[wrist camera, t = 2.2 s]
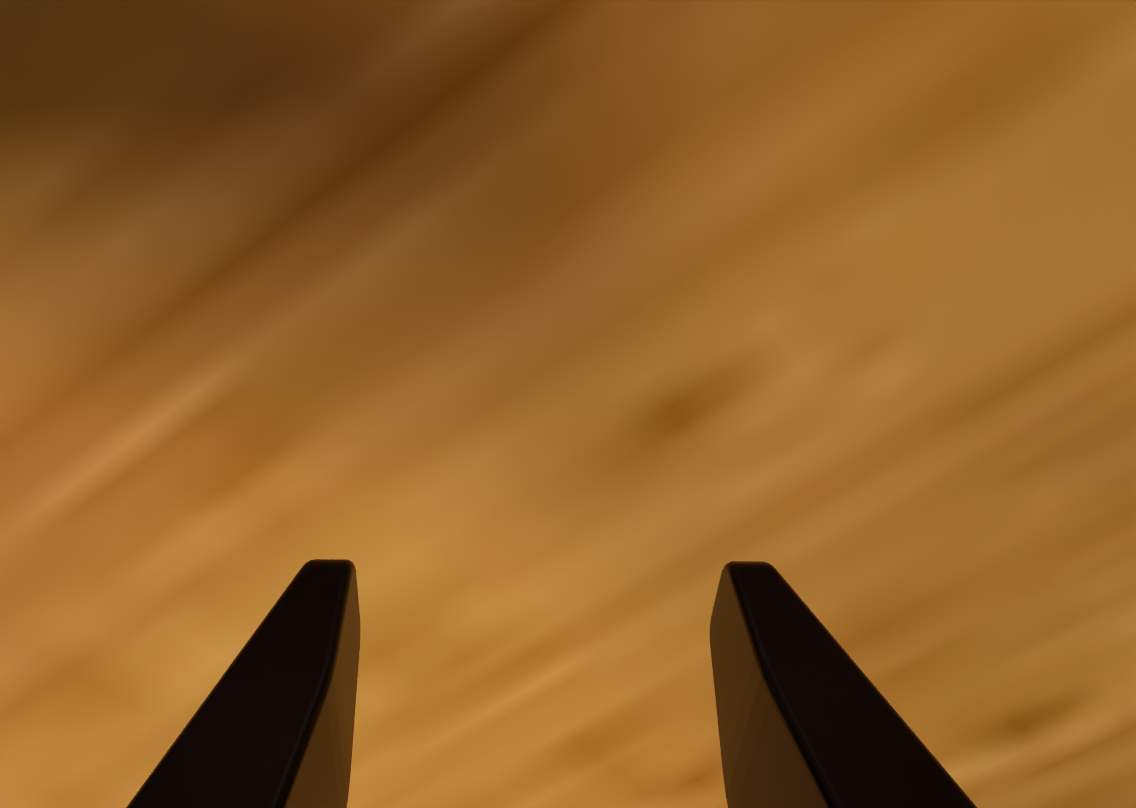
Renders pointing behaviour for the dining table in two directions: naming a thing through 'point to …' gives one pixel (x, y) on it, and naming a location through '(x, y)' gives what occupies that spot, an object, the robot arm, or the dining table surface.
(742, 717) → the robot arm
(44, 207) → the dining table surface
